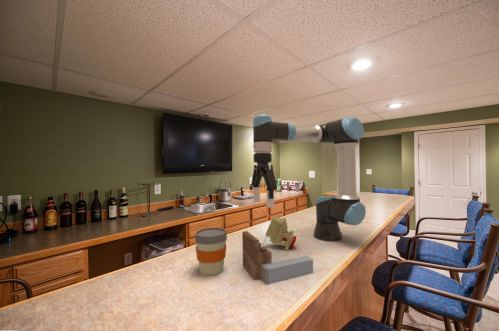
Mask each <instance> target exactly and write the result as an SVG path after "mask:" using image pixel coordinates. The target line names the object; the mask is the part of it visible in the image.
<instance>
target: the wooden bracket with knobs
mask: <svg viewBox="0 0 499 331" xmlns="http://www.w3.org/2000/svg"><path fill="white" fill-rule="evenodd" d="M241 234H242V235H241V236H242V266H243V268H244V269H245V270H246V272H247V273H248V274H249V276H250V277H251V278H252V279H253V280H254V281H257V280H261V264H269V263H273V262H272V260H273V259H272V258H273V257H272V251H271V250H270V249H269V248H267V247H265V246H262V243H261V242H260V240H259V239H258V238H257V237H255V236H254V235H253V234H251V233H250V232H248V231H247V230H245V231H242V232H241Z"/></svg>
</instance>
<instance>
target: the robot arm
mask: <svg viewBox="0 0 499 331" xmlns="http://www.w3.org/2000/svg"><path fill="white" fill-rule="evenodd" d="M252 130H253V131H252V132H253V141H252V142H253V144H252V148H253V163H254V165H253V173H252V178H251V186H252V188H253V203H260V202H261V190H260V189H261V185H260V184H261V181H262V179H263V180H264V182H265V186H266V190H265V191H266V208H267V209H268V208H274V207H275V195H274V194H275V190H277V188H278V186H277V182H276V177H275V172H274V166H273V165H274V164H272V161H273V160H272V156H273V155H272V146H273V144H277V143H278V144H281V143H283V144H284V143H296V142H297V143H300V142H301V143H302V142H312V143H314V144H316V143H317V144H318V143H321V144H323V143H324V144H333V146H334V147H335V148H336V158H337V160H336V162H337V163H336V164H337V166H336V167H337V194H336V195H326V196H325V195H324V196H318V197H317V198H316V200H315V215H316V217H315V218H316V219H315V220H316V223H315V226H314V230H313V237H314V238H315V239H318V240H320V241H328V242H335V241H337V242H338V241H340V240H342V238H343V234H342V232H341V228H340V225H339V223H342V224H345V225H349V226H359V225H360V224H361V223H362V222H363V221H364V219H365V217H366V211H367V210H366V206H365V205H364V204H363V203H362V202H361V198H360V196H358V195H357V167H356V147H357V146H358V145H359V140H361V139H362V138H363V136H364V132H365V129H364V125H363V123H362V121H360V120H359V119H358V117H354V116H350V117H344V118H341V119H337V120H334V121H330V122H326V123H323V124H316V125H312V126H310V127H309V126H308V127H307V126H305V127H296V126H295V124H293V123H288V122H277V121H272V117H271V115H269V114H257V115H256V116H253V121H252ZM255 163H256V164H255ZM270 163H271V164H270Z"/></svg>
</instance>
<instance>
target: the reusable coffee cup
mask: <svg viewBox="0 0 499 331" xmlns="http://www.w3.org/2000/svg"><path fill="white" fill-rule="evenodd" d="M194 234H195V235H194V242H195V245H196V246H195V253H196V259H197V261H198V266H199V272H200V274H201V275H204V276H209V277H210V276H215V275H216V276H217V275H218V274H220V273H222V272H223V271H224V264H225V263H224V262H225V259H226V253H227V240H228V236H227V230H226V229H225V228H222V227H206V228H202V229H201V228H200V229H199V230H197V231H196V232H195V233H194Z"/></svg>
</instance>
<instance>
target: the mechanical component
mask: <svg viewBox="0 0 499 331" xmlns="http://www.w3.org/2000/svg"><path fill="white" fill-rule="evenodd" d="M288 228H289V227H288V222H287V218H286V217H285V216H283V217H278V216H277V217H275V216H273V217H272V218H271V220H270V222H269V225H268V228H267V230H266V232H265V238H264V242H263V243H262V244H261V247H264V243H265V241H266V239H267V238H269V239H270V240H269V241H270V242H272V245H273V246H277V245H278V244H279V245H280V246H283V247H284V249H285V251H289V248H291V249H293V248H294V246H295V243H296V240H297V236H295V235H294V233H295V230H290V231H289V230H288Z"/></svg>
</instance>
